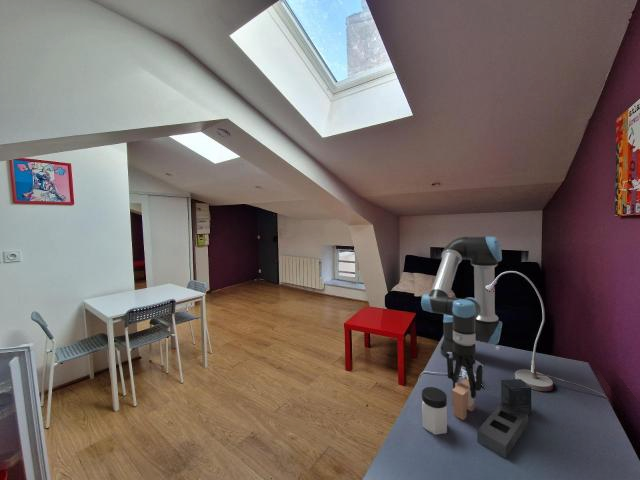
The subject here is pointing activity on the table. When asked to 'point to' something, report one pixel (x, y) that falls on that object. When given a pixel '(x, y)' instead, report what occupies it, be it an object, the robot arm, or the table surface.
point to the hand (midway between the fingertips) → (464, 401)
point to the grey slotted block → (502, 429)
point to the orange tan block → (461, 399)
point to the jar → (434, 410)
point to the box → (516, 394)
